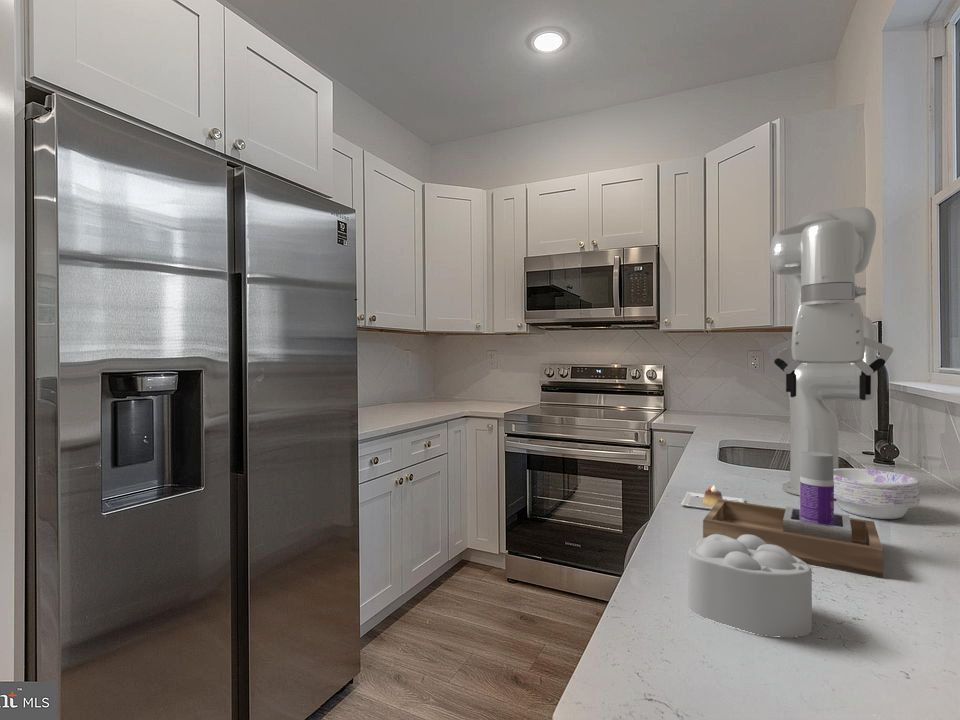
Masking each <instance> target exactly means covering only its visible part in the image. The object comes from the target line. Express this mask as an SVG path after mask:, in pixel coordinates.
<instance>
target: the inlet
mask: <svg viewBox="0 0 960 720" xmlns="http://www.w3.org/2000/svg"><path fill="white" fill-rule="evenodd" d="M785 509H786V510H785V514H784V518H783V531H784V532H790V533H796V534H802V535H808V536H814V537H820V538H826V539H832V540H838V541H844V542H850V543H852V529H851V523H850V518H851V517H850V515H848V514H842V513H835V512H834V526H833V525H827V524H820V523H814V522H807V521H801V520H800V507H793V506H785Z"/></svg>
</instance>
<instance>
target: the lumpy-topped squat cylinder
mask: <svg viewBox="0 0 960 720" xmlns="http://www.w3.org/2000/svg"><path fill="white" fill-rule="evenodd" d="M687 553H688V554H687V555H688V557H687V558H688V559H687V560H688V561H687V580H688V581H687V608H688V607H689V608H690V609H691V610H692V611H693V612H695V613H696V614H699V615H700V616H702V617H704V618H708V619H711V620H714V621H716V622H719V623H722V624H726V625H729V626H732V627H735V628H739V629H741V630H745V631H748V632H752V633H755V634H759V635H767V636H780V637H796V636H802V637H804V636H803V635H806V636H808V635H810V634H811V633H812V631H811V630H813V618H812V617H813V597H812V595H813V594H812V593H813V589H812V588H813V585H812V583H813V575H812V574H813V572H812V568H811V566H810V564H806V563H805V562H804V561H802V560H800V559H799V558H797V557H795V556H793V555H791V554H790V553H789V552H788V551H786V550H785V549H783V548H782V547H780V546H777V545H772V544H766V542H764V541H763V540H762V539H761V538H759V537H757V536H755V535H749V534H746V535H741V536H740V537H738V538H737V540H736V539H733V538H730V537H728V536H724V535H720V534H713V535H710V536H708V537H706V538H703V537H701V538H699V539H697V541H696V545H695V546H693V547H691V548H690V549H689V550H688V552H687ZM810 632H811V633H810ZM809 633H810V634H809ZM807 634H808V635H807ZM796 638H797V637H796Z"/></svg>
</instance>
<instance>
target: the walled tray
mask: <svg viewBox="0 0 960 720" xmlns="http://www.w3.org/2000/svg"><path fill="white" fill-rule="evenodd" d="M711 508H712V509H711V510H709V512H708V513H707V515H706V516H705V517H704V518H703V520H702V538H706V537H708V536H710V535H713V534H720V535H724V536H728V537H730V538H733V539H736V540H737V538H738V537H740V536H741V535H746V534H749V535H755V536H757V537H759V538H761V539H762V540H763V541H764V542H766V544H772V545H777V546H780V547H782V548H783V549H785V550H786V551H788V552H789V553H790V554H791V555H793V556H795V557H797V558H799V559H800V560H802V561H804V562H805V563H806V564H808V565H812V566H817V567H820V568H821V567H822V568H827V569H832V570H837V571H843V572H847V573H853V574H859V575H864V576H869V577H875V578H880V579H884V549H883V546H882V543H881V540H880V536H879V534H878V530H877V528H876V524H875V521H873V520H868V519H860V518H852V517H850V523H851V529H852V543H850V542H844V541H838V540H832V539H826V538H820V537H814V536H808V535H802V534H796V533H790V532H784V531H783V518H784V514H785V510H786V508H784V507H777V506H768V505H763V504H756V503H748V502H744V503H743V502H736V501H729V500H722V499H719V500H718V501H717V503H716V504H715V505H714V507H711Z"/></svg>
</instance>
